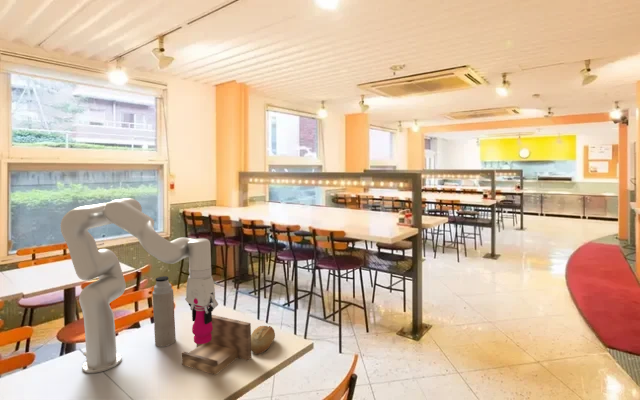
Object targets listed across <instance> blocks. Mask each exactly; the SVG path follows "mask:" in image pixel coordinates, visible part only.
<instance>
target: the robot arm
mask: <svg viewBox="0 0 640 400" xmlns="http://www.w3.org/2000/svg"><path fill="white" fill-rule="evenodd" d="M142 211H143V208H142V205H141V204H140V202H139V201H138V200H137V199H135V198H132V197H131V198H130V197H126V198H120V199H119V198H118V199H113V200H111V201H108V202H103V203H97V204H89V205H82V206H78V207H75V208H73V209H71V210H69V211H67V212H66V213H65V214H64V215H63V217H62V219H61V222H60V232H61V235H62V237H63V240H64V241H65V243H66V246H67V249H68V253H69V255H70V258H71V262H72V266H73V268H74V271H75V274H76V276H77V277H78V278H79V279H80V280H81V281H90V280H91V281H92V280H94V279H97V278H98V279H97V280H96V281H93V282H92V283H89V284H88V285H86V286H84V287H83V289H82V290H81V291H80V292H79V296H78V302H79V306H80V308H81V311H82V317H83V326H84V339H85V340H84V341H85V352H83V356H85V359H86V360H85V361H84V362H83V364H82V366H81V368H82V371H83V372H85V373H88V374H96V373H97V374H98V373H101V372H105V371H108V370H111V369H113V368H114V367H116V366H117V365H120V363H121V361H122V355H121V354H120V353H118V352H117V341H116V340H117V339H116V338H117V337H116V325H115V314H114V312H113V309H112V308H111V305H110V303H111V302H113V301H115V300H116V299H118V298H120V297H121V296H122V295H123V294H124V293H125V291H126V280H125V277H124V273H123V271H122V267H121V264H120V261H119V258H118V256H117V255H116V253H115V252H114V251H113V250H111V249H108V248H100V249H98V245H97V243H96V242H97V241H96V240H95V238H94V236H93V235H92V234H91V233H90V232H89V230H90V229H95V228H99V227H104V226H107V225H112V224H114V225H115V226H117V227H118V228H120V229H122V230H123V231H125V232H127V233H128V234H130V235H131V236H134V237H135V238H136V239H137V240H138V242H139V244H140V246H142V248H143V250H144V251H146V253H148V254H149V255H151V256H152V257H154V258H155V259H157V260H159V261H160V262H162V263H165V264H170V265H171V264H172V265H173V264H176V263H178V262H180V261H181V260H184V259H186V258H188V265H189V267H188V270H187V271H188V272H189V275H188V277H187V281H186V289H185V292H186V293H185V296H186V297H185V301H186V303H188V306H189V307H190V311H191V319H192V322H194V321H195V319H196V310H195V307H194V306H195V305H198V306H203V307H204V309H205V312H206V313H205V314H204V323H205V324H208V323H209V322H211V321H212V315H213V314H212V313H213V311H214V310H215V308H217V307H218V306H219V303H218V301H217V299H216V290H215V282H214V279H213V276H212V257H211V254H212V253H211V242H210V240H209V238H190V237H186V236H185V237H178V238H175V239H173V240H167V239H166V238H165V237H163V236H162V235H160V234H159V233H158V232H156V230H155V228H154V227H155V220H154V218H152V217H151V216H149V215H148V214H146V213H144V212H142ZM195 298H196V299H197V300H198V304H195V303H194V299H195ZM208 305H209V308H208Z"/></svg>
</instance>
